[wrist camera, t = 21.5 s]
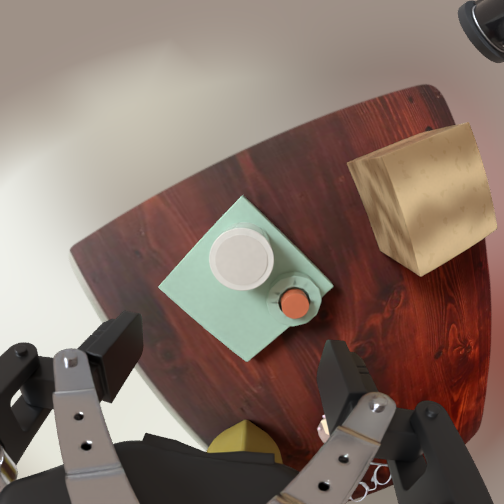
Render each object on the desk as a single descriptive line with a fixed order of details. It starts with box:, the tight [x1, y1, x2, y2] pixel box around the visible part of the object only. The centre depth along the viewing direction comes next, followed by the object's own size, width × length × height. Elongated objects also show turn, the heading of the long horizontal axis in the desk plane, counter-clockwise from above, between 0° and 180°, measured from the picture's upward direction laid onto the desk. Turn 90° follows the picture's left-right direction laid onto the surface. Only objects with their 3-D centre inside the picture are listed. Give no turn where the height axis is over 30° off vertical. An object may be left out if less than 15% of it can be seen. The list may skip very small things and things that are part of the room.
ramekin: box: [209, 222, 274, 291], centre depth 29 cm, size 6×6×4 cm
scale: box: [159, 195, 333, 362], centre depth 32 cm, size 14×14×4 cm
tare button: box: [281, 289, 309, 319], centre depth 30 cm, size 3×3×2 cm
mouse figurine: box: [317, 415, 330, 443], centre depth 36 cm, size 5×8×7 cm, turn 13°
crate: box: [347, 122, 497, 277], centre depth 25 cm, size 11×11×10 cm
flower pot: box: [207, 420, 283, 464], centre depth 35 cm, size 9×9×9 cm
